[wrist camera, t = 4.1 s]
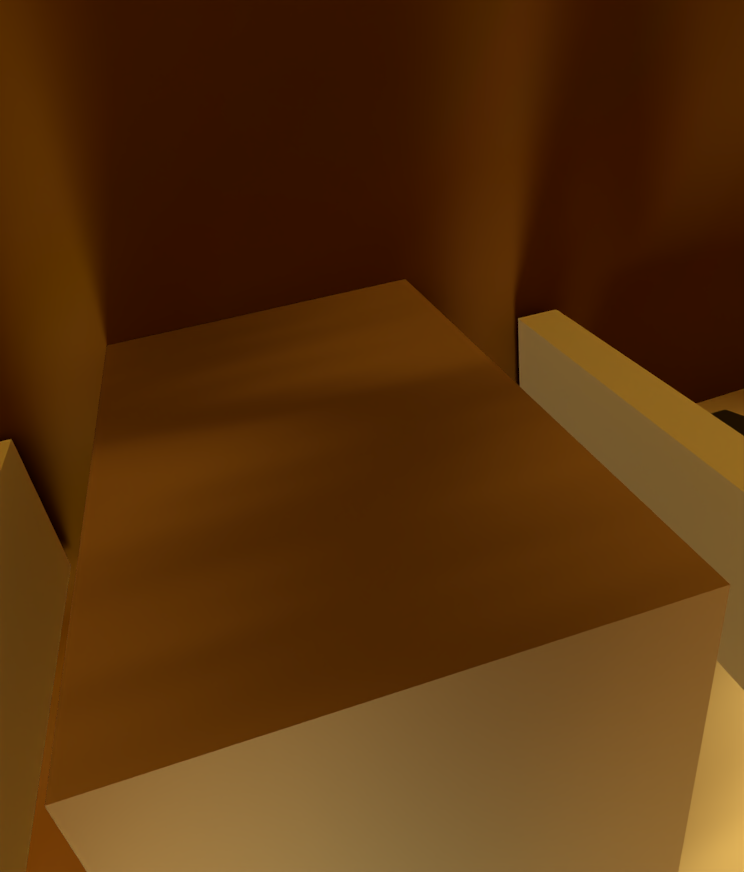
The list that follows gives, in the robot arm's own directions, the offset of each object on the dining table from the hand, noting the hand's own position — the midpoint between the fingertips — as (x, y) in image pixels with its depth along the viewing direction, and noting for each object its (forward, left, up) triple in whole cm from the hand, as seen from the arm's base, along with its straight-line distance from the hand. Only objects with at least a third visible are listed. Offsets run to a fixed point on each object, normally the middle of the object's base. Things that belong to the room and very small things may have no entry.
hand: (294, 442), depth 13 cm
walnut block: (0, 0, 0) cm, 0 cm away
